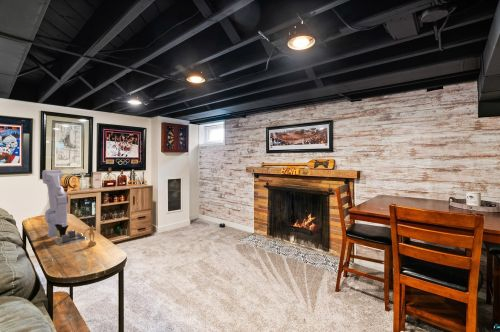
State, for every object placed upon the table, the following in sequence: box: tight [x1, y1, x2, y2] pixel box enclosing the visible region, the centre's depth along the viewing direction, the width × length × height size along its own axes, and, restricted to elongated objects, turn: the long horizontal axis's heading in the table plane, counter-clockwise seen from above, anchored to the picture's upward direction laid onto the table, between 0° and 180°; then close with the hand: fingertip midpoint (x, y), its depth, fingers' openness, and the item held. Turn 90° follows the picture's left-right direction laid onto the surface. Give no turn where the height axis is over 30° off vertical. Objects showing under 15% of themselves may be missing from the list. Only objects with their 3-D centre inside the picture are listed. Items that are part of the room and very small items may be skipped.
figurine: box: [83, 226, 101, 247], centre depth 141 cm, size 8×6×12 cm
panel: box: [52, 231, 90, 247], centre depth 150 cm, size 18×15×3 cm
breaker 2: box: [67, 229, 76, 237], centre depth 154 cm, size 3×4×4 cm
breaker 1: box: [61, 233, 70, 242], centre depth 146 cm, size 3×4×4 cm
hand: (61, 235), depth 151 cm, fingers closed on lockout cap, 4 cm apart
